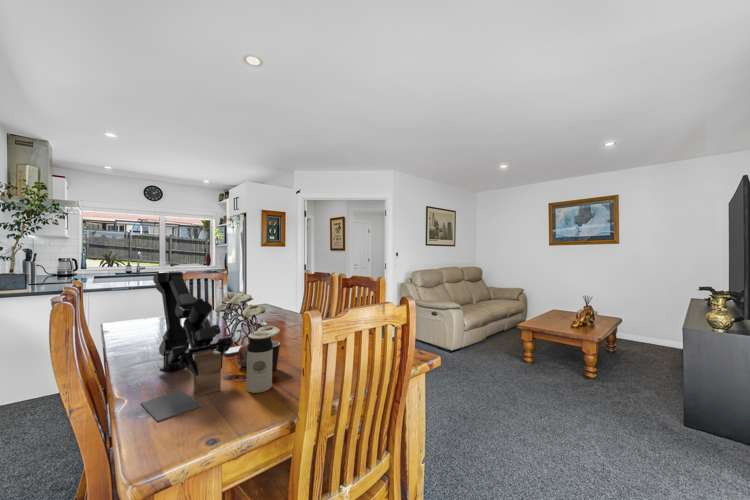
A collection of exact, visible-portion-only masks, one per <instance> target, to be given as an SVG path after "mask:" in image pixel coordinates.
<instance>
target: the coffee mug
mask: <svg viewBox="0 0 750 500" xmlns="http://www.w3.org/2000/svg"><path fill="white" fill-rule="evenodd" d="M271 341H272V343H273V354H272V373H274V372H276V371H277V368H278V360H279V355H280V347H281V343H280V342H279V341H275V340H271Z"/></svg>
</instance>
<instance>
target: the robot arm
mask: <svg viewBox="0 0 750 500" xmlns="http://www.w3.org/2000/svg"><path fill="white" fill-rule="evenodd" d="M152 278H153V284H155V288H156V290H157V291H158V292H159V293H160V294H161V297H162V303H163V311H164V318H165V325H166V330H165V332H164V334H163V335H162V340H161V343H160V345H159V347H158V353H159V354H160V355H161V356H162V357H163V367H160V368H159V371H164V372H171V373H172V372H173V373H174V372H176V371H179V370H181V369H183V368H186V369H187V370H188V371H190V372H191V373H192V374H193V376H194V375H195V376H198V370H197V367H196V365H195V362H194V355H197V354H199V353H204V352H205V353H206V352H208V351H209V352H210V351H213V350H214V351H218V352H220V353H221V370H222V369H223V357H224V355H223V352H226V351H228V350H229V348H231V347H232V345H233V343H234V341H233V338H232V337H230V336H225V337H220V338H219V339H218V340H217V342H214V343H213V341H214V338H217V336H218V335H220V334H221V328H220V325H219V324H213V325H211V327H210V328H205V327H204V324H203V323H204V322H205V321H206V320H207V318H208V319H209V316H210V314H211V312H212V310H213V306H212V304H211V303H210V302H208V301H206V300H204V298H197V297H195V296H193V295H191V292H190V291H189V288H188V286H187V283H186V282H185V279H184V275H183V272H182V271H178V270H177V271H176V270H173V271H172V270H169V271H167V270H166V271H156V273H155V274H153V277H152ZM182 319H185V320H184V321H183V323H182V324H183V325H182V324H181V320H182ZM210 342H212V343H211V344H210ZM189 343H190V344H189Z"/></svg>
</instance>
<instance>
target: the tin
mask: <svg viewBox="0 0 750 500" xmlns="http://www.w3.org/2000/svg"><path fill="white" fill-rule="evenodd" d="M248 343H249V342H246V343H245V344H243V345H240V346H241V347H240V349H239V350H238V353H237V355H236V356H237V357H236V360H237V364H238V366H240V367H246V368H247V345H248Z"/></svg>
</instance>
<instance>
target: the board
mask: <svg viewBox="0 0 750 500" xmlns="http://www.w3.org/2000/svg"><path fill="white" fill-rule="evenodd" d="M193 360H194V362H195V365H196V367H197V370H198V376H195V375H194V374H193V390H192V391H193V395H195V396H196V397H200V396H203V395H208V394H211V393H213V392H216V391H219V390H221V382H222V380H221V379H222V377H221V376H222V369H221V353H220V352H218V351H213V350H212V351H209V352H205V353H201V354H195V355H193Z"/></svg>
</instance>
